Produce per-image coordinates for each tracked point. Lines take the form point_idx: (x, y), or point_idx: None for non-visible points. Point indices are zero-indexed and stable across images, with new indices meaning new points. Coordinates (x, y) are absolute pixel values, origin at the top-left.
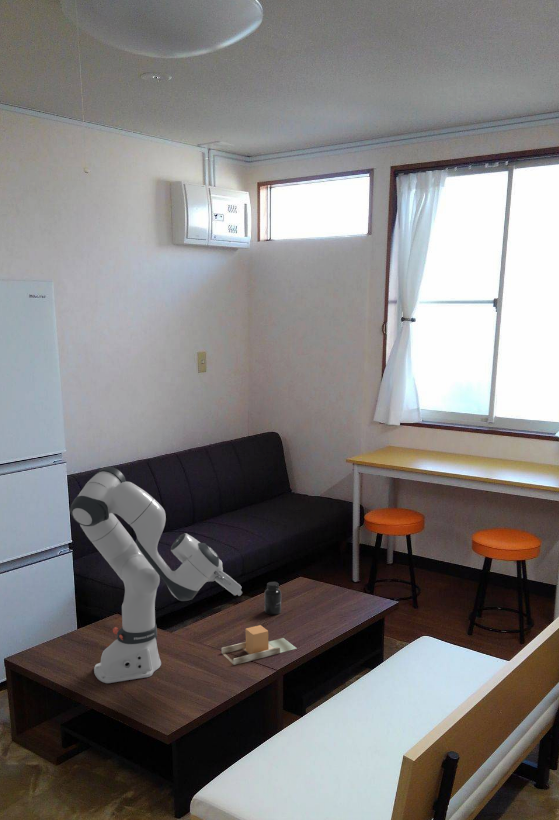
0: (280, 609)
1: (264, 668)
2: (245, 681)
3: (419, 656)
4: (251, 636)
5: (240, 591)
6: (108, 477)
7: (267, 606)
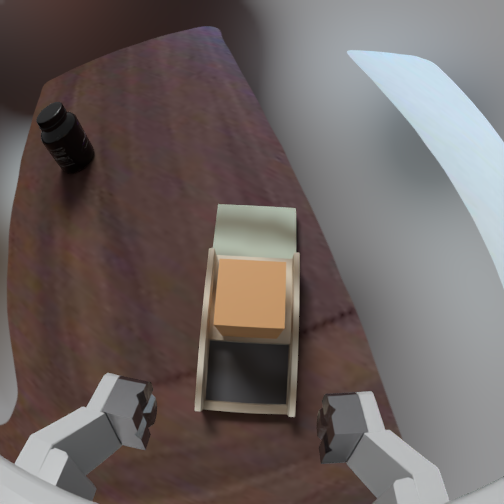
0: (90, 143)
1: (333, 335)
2: None
3: (397, 85)
4: (267, 329)
5: (374, 414)
6: None
7: (69, 161)
